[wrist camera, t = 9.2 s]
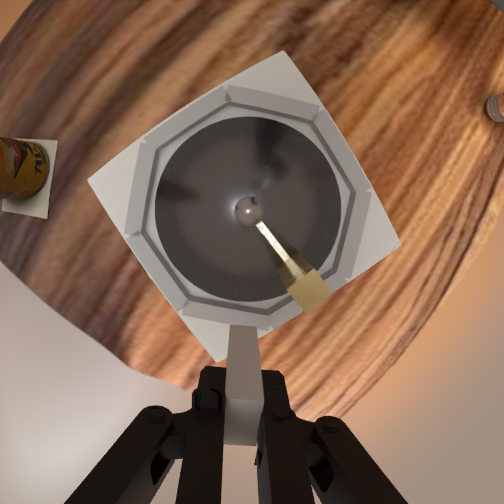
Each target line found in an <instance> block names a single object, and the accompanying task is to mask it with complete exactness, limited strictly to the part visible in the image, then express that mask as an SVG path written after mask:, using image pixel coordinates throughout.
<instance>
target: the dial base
mask: <svg viewBox="0 0 504 504" xmlns="http://www.w3.org/2000/svg"><path fill="white" fill-rule="evenodd" d="M245 116H251V117H263V118H268V119H272V120H276V121H278V122H281V123H284V124H286V125H288V126H290V127H292V128H294V129H296V130H298V131H299V132H301V133H302V134H304V135H305V136H306V137H307V138H309V139H310V140H311V141H312V142H313V143H314V144H315V145H316V146H317V147H318V148H319V149H320V151H321V152H322V153H323V154H324V156H325V157H326V159H327V160H328V162H329V164H330V165H331V168H332V170H333V172H334V174H335V176H336V180H337V183H338V186H339V191H340V196H341V222H340V227H339V231H338V235H337V238H336V241H335V244H334V246H333V248H332V250H331V252H330V254H329V256H328V258H327V259H326V260H325V262H324V263H323V265H322V266H321V267H320V268H319V270H318V271H317V273H318V274H319V275H320V277H321V278H322V279H323V281H324V282H325V283H326V285H327V286H328V288H329V289H330V290H331V292H332V293H333V292H335V291H336V290H338V289H339V288H341V287H342V286H344V285H345V284H347V283H348V282H350V281H351V280H353V279H354V278H356V277H357V276H359V275H360V274H361V273H363V272H364V271H366V270H367V269H369V268H370V267H372V266H373V265H374V264H376V263H377V262H379V261H380V260H382V259H383V258H384V257H386V256H387V255H389V254H390V253H391V252H393V251H394V250H396V249H397V248H398V247H400V246H401V243H400V241H399V238H398V236H397V234H396V232H395V230H394V228H393V226H392V224H391V222H390V220H389V218H388V216H387V214H386V212H385V210H384V208H383V206H382V204H381V202H380V200H379V198H378V196H377V194H376V193H375V191H374V189H373V187H372V185H371V183H370V181H369V180H368V178H367V176H366V174H365V172H364V171H363V169H362V167H361V165H360V164H359V162H358V160H357V158H356V157H355V155H354V153H353V152H352V150H351V148H350V147H349V145H348V143H347V142H346V140H345V138H344V137H343V135H342V133H341V132H340V130H339V129H338V127H337V126H336V124H335V122H334V121H333V119H332V118H331V116H330V115H329V113H328V112H327V110H326V109H325V107H324V106H323V104H322V103H321V101H320V100H319V98H318V97H317V95H316V94H315V92H314V91H313V89H312V88H311V87H310V85H309V84H308V82H307V81H306V79H305V78H304V77H303V75H302V74H301V73H300V71H299V70H298V68H297V67H296V66H295V64H294V63H293V62H292V60H291V59H290V58H289V56H288V55H287V54H286V52H285V51H284V50H283V51H281V52H279V53H277V54H275V55H273V56H271V57H269V58H267V59H265V60H263V61H261V62H259V63H257V64H255V65H253V66H252V67H250V68H248V69H246V70H244V71H242V72H241V73H239V74H237V75H235V76H233V77H232V78H230V79H228V80H226V81H225V82H223V83H221V84H220V85H218V86H216V87H215V88H213V89H211V90H210V91H208V92H206V93H205V94H203V95H202V96H200V97H198V98H197V99H195V100H194V101H192V102H191V103H189V104H187V105H186V106H184V107H183V108H181V109H180V110H178V111H177V112H175V113H174V114H172V115H171V116H169V117H168V118H167V119H165V120H164V121H162V122H161V123H159V124H158V125H157V126H155V127H154V128H152V129H151V130H150V131H148V132H147V133H145V134H144V135H143V136H141V137H140V138H139V139H137V140H136V141H135V142H133V143H132V144H131V145H129V146H128V147H127V148H126V149H124V150H123V151H122V152H120V153H119V154H118V155H117V156H115V157H114V158H113V159H112V160H110V161H109V162H108V163H107V164H105V165H104V166H103V167H102V168H101V169H99V170H98V171H97V172H96V173H95V174H94V175H92V176H91V177H90V178H89V179H88V180H87V181H88V182H89V184H90V186H91V187H92V189H93V191H94V192H95V194H96V196H97V197H98V199H99V201H100V202H101V204H102V205H103V207H104V209H105V210H106V212H107V213H108V215H109V216H110V218H111V220H112V221H113V223H114V224H115V226H116V227H117V229H118V230H119V232H120V233H121V235H122V236H123V238H124V239H125V241H126V242H127V244H128V245H129V247H130V248H131V250H132V251H133V253H134V254H135V256H136V257H137V259H138V260H139V262H140V263H141V264H142V266H143V267H144V269H145V270H146V272H147V274H148V276H149V277H150V278H151V279H152V280H153V281H154V283H155V284H156V286H157V287H158V288H159V290H160V291H161V292H162V294H163V295H164V296H165V298H166V299H167V301H168V302H169V303H170V305H171V306H172V307H173V309H174V310H175V311H176V312H177V314H178V315H179V316H180V318H181V319H182V320H183V322H184V323H185V324H186V325H187V327H188V328H189V329H190V331H191V332H192V333H193V334H194V336H195V337H196V338H197V339H198V341H199V342H200V343H201V344H202V346H203V347H204V348H205V349H206V351H207V352H208V353H209V354H210V355H211V357H212V358H213V359H214V360H215V362H216V363H217V362H219V361H221V360H223V359H224V358H226V357H227V352H228V341H229V329H230V324H232V325H243V326H256V327H257V334H258V339H259V338H261V337H263V336H264V335H266V334H268V333H269V332H271V331H273V330H274V329H276V328H278V327H279V326H281V325H283V324H284V323H286V322H288V321H289V320H291V319H293V318H294V317H296V316H297V315H299V314H301V313H302V312H304V311H303V310H302V309H301V307H300V306H299V305H298V304H297V302H296V301H295V300H294V299H293V297H292V296H291V295H290V294H289V293H287V294H285V295H282V296H279V297H276V298H273V299H269V300H264V301H256V302H238V301H232V300H226V299H223V298H219V297H216V296H214V295H211V294H209V293H207V292H205V291H203V290H201V289H200V288H198V287H196V286H195V285H193V284H192V283H191V282H189V281H188V280H187V279H186V278H185V277H184V276H183V275H182V274H181V273H180V272H179V271H178V270H177V269H176V268H175V267H174V265H173V264H172V262H171V261H170V260H169V258H168V256H167V254H166V253H165V251H164V249H163V247H162V244H161V241H160V239H159V236H158V232H157V228H156V221H155V198H156V191H157V187H158V184H159V180H160V177H161V175H162V172H163V170H164V168H165V166H166V164H167V163H168V161H169V159H170V158H171V156H172V155H173V154H174V152H175V151H176V150H177V149H178V148H179V146H180V145H181V144H182V143H183V142H185V141H186V140H187V139H188V138H189V137H190V136H192V135H193V134H194V133H196V132H197V131H199V130H200V129H202V128H204V127H206V126H208V125H210V124H212V123H215V122H218V121H221V120H224V119H229V118H234V117H245Z"/></svg>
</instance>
